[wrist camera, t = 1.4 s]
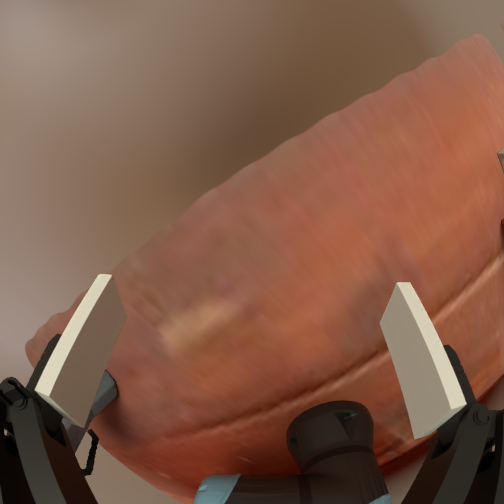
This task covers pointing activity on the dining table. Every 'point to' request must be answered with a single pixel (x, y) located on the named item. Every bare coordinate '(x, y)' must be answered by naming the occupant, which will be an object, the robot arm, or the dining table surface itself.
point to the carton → (501, 157)
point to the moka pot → (76, 433)
